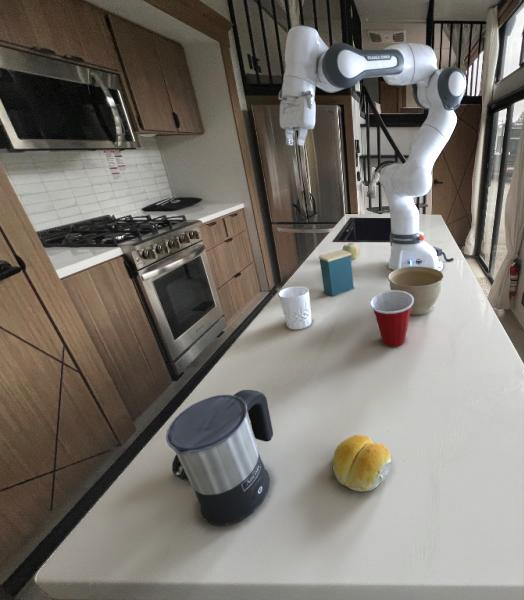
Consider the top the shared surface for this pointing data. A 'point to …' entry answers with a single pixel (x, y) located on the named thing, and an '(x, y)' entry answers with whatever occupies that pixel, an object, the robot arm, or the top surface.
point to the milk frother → (223, 454)
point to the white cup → (296, 306)
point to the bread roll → (361, 463)
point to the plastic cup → (392, 315)
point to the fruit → (352, 250)
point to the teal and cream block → (336, 272)
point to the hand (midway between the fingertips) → (294, 145)
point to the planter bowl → (418, 286)
